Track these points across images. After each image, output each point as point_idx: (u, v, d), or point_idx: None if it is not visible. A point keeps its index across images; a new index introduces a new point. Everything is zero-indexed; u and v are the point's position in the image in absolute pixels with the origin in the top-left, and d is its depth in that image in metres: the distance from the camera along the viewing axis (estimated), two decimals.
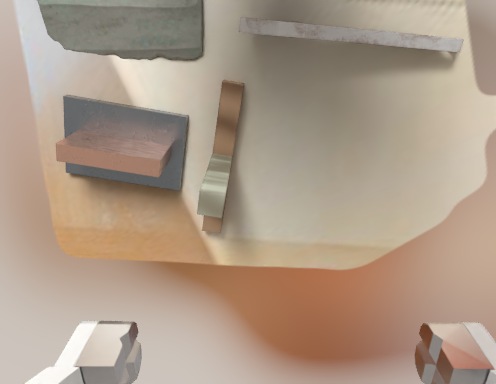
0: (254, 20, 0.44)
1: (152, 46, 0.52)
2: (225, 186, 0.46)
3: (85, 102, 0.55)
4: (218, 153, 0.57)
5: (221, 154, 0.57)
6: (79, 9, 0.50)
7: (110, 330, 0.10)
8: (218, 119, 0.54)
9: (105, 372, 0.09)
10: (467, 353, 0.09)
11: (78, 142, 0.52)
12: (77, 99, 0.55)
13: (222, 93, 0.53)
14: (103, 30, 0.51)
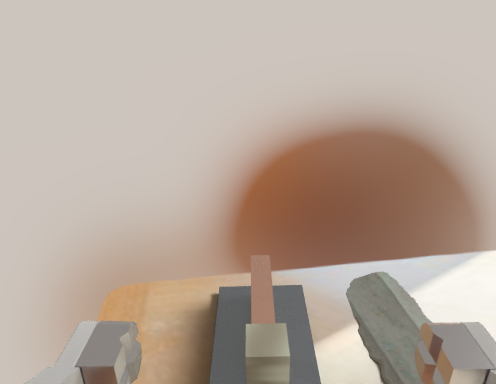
0: None
1: (388, 353, 0.44)
2: None
3: (302, 300, 0.52)
4: None
5: None
6: (388, 294, 0.52)
7: (110, 330, 0.10)
8: None
9: (105, 372, 0.09)
10: (467, 353, 0.09)
11: None
12: (302, 294, 0.53)
13: None
14: (379, 312, 0.50)
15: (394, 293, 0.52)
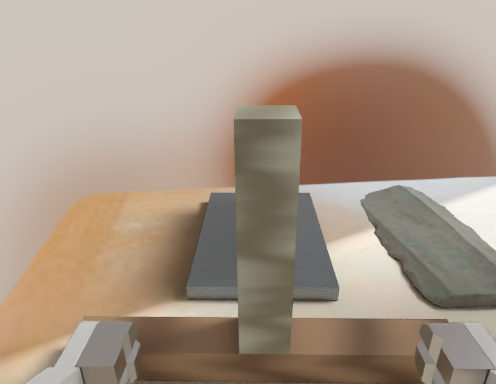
0: None
1: (412, 248, 0.35)
2: (298, 172, 0.18)
3: (309, 204, 0.43)
4: None
5: None
6: (414, 200, 0.43)
7: (110, 330, 0.10)
8: (366, 320, 0.25)
9: (105, 372, 0.09)
10: (466, 353, 0.09)
11: None
12: (310, 200, 0.44)
13: (424, 321, 0.25)
14: (402, 216, 0.41)
15: (421, 199, 0.43)
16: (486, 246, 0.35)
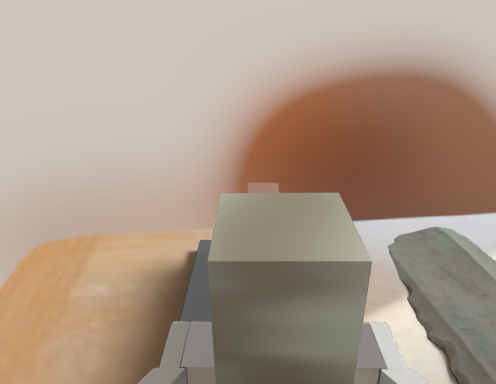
0: None
1: (462, 333, 0.26)
2: None
3: None
4: None
5: None
6: (459, 252, 0.34)
7: (205, 330, 0.10)
8: None
9: (210, 373, 0.09)
10: (363, 353, 0.09)
11: None
12: None
13: None
14: (444, 275, 0.32)
15: (468, 251, 0.34)
16: None
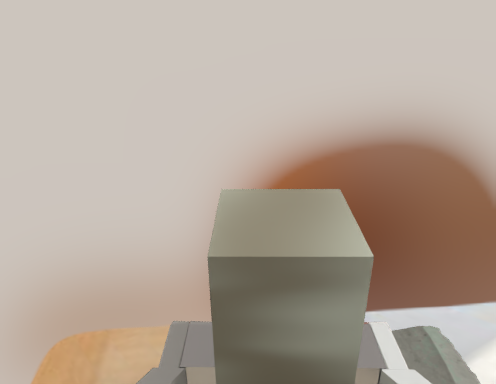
0: None
1: None
2: None
3: None
4: None
5: None
6: (438, 363, 0.37)
7: (205, 331, 0.10)
8: None
9: (209, 373, 0.09)
10: (363, 353, 0.09)
11: None
12: None
13: None
14: None
15: (446, 363, 0.37)
16: None
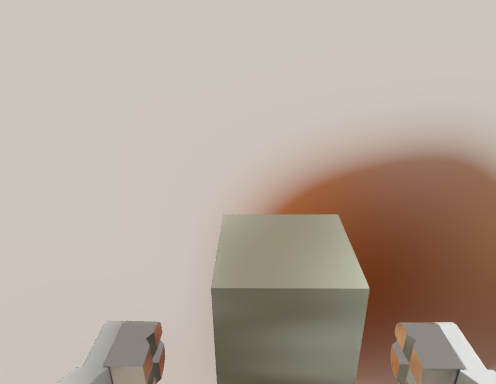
0: None
1: None
2: None
3: None
4: None
5: None
6: None
7: (136, 330, 0.10)
8: None
9: (134, 372, 0.09)
10: (438, 353, 0.09)
11: None
12: None
13: None
14: None
15: None
16: None
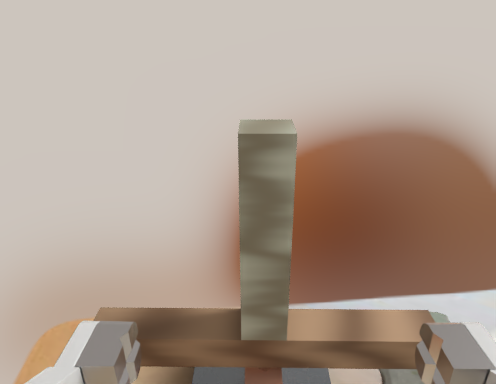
0: None
1: None
2: (294, 179, 0.20)
3: None
4: None
5: None
6: None
7: (110, 330, 0.10)
8: (356, 311, 0.27)
9: (105, 372, 0.09)
10: (467, 353, 0.09)
11: None
12: None
13: (408, 312, 0.27)
14: None
15: None
16: None
